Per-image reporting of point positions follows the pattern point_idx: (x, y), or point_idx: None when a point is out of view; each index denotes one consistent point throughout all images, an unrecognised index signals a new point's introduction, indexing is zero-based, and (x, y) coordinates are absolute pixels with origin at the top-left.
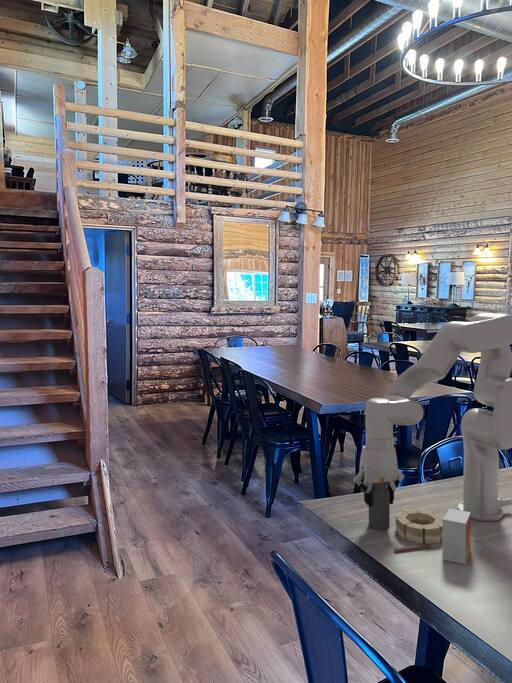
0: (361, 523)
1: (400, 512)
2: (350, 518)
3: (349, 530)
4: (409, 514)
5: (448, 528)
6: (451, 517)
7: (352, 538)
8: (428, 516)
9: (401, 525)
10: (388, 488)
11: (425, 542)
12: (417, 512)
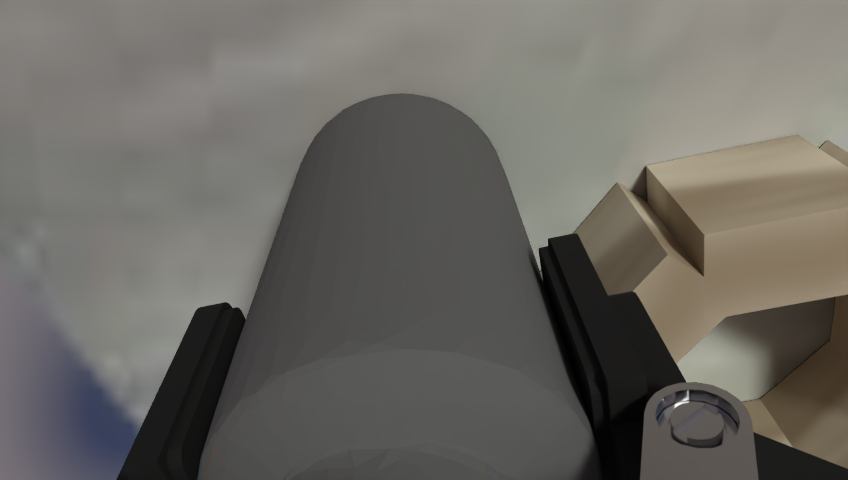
0: (226, 142)
1: (651, 289)
2: (100, 8)
3: (104, 275)
4: (734, 305)
5: None
6: None
7: (136, 392)
8: None
9: None
10: (617, 459)
11: None
12: (844, 293)
